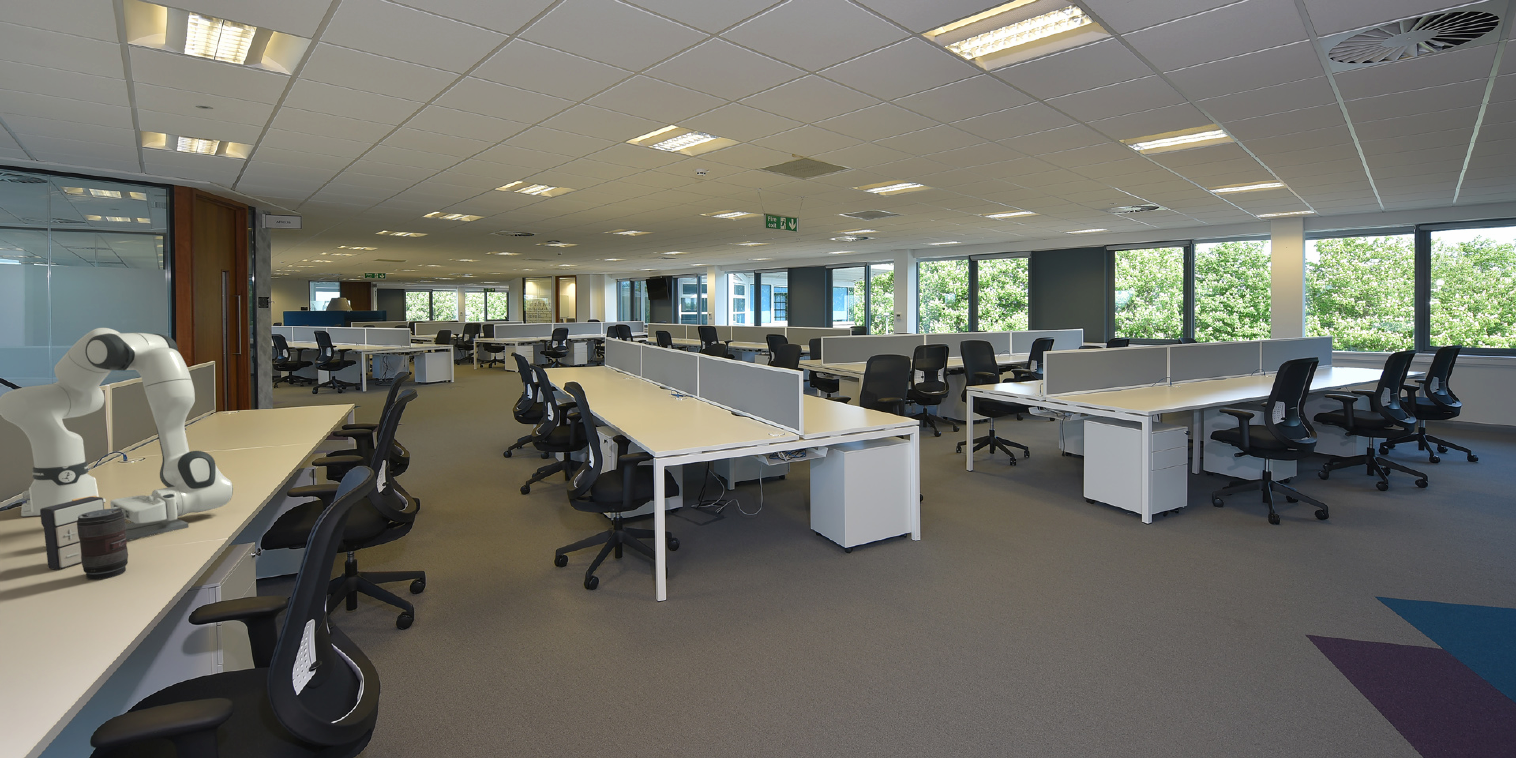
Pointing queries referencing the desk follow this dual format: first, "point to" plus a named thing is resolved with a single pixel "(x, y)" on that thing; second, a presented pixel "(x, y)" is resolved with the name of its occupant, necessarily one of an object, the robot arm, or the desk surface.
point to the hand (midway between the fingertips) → (99, 516)
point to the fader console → (152, 528)
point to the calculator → (65, 530)
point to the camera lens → (103, 543)
